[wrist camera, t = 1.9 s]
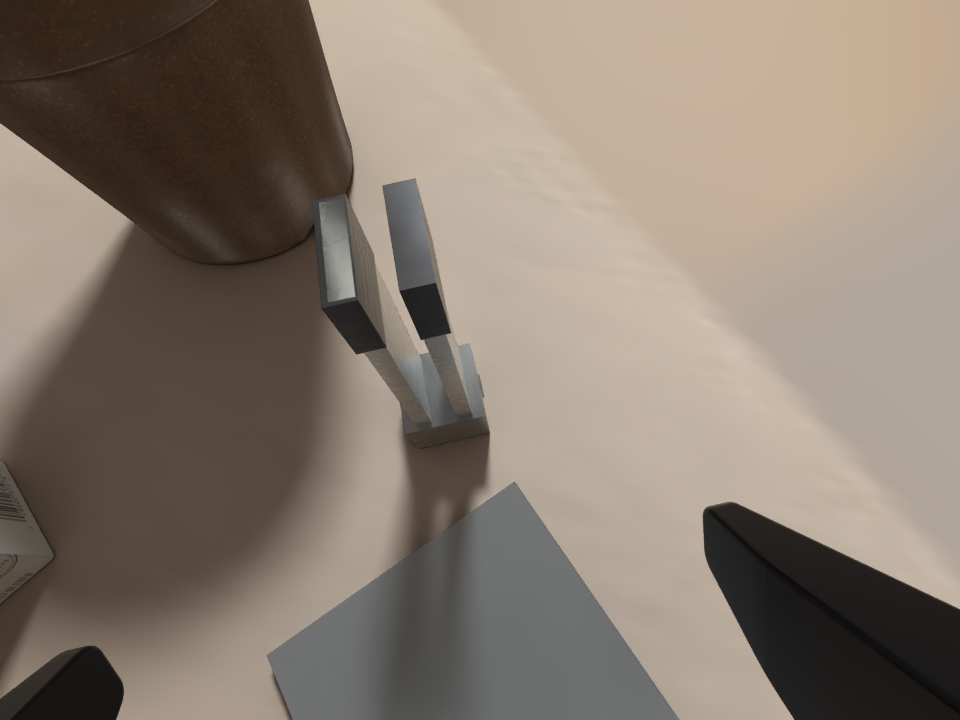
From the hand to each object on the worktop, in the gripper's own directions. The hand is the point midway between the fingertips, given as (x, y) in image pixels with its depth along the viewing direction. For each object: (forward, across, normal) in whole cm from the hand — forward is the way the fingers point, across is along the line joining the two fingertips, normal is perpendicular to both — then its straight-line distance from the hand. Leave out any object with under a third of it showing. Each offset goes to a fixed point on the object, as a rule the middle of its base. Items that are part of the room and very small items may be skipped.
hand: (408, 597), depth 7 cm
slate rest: (+6, +1, +12) cm, 14 cm away
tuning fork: (+14, 0, +4) cm, 15 cm away
